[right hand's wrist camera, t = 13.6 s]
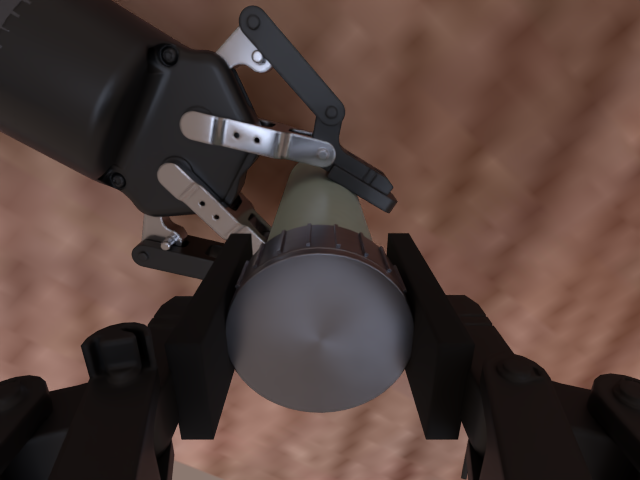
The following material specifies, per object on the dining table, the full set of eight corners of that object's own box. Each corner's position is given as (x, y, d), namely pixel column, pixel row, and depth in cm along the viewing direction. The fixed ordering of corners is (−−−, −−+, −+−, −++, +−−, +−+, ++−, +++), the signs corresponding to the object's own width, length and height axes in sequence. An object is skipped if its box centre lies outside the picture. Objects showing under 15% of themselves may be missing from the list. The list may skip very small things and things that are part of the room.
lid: (417, 230, 11) (438, 261, 9) (386, 371, 13) (398, 421, 11) (240, 212, 11) (223, 240, 9) (235, 358, 13) (220, 407, 11)
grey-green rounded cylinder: (322, 230, 27) (326, 410, 12) (274, 190, 26) (211, 333, 11) (365, 184, 26) (429, 321, 11) (316, 140, 25) (311, 225, 10)
